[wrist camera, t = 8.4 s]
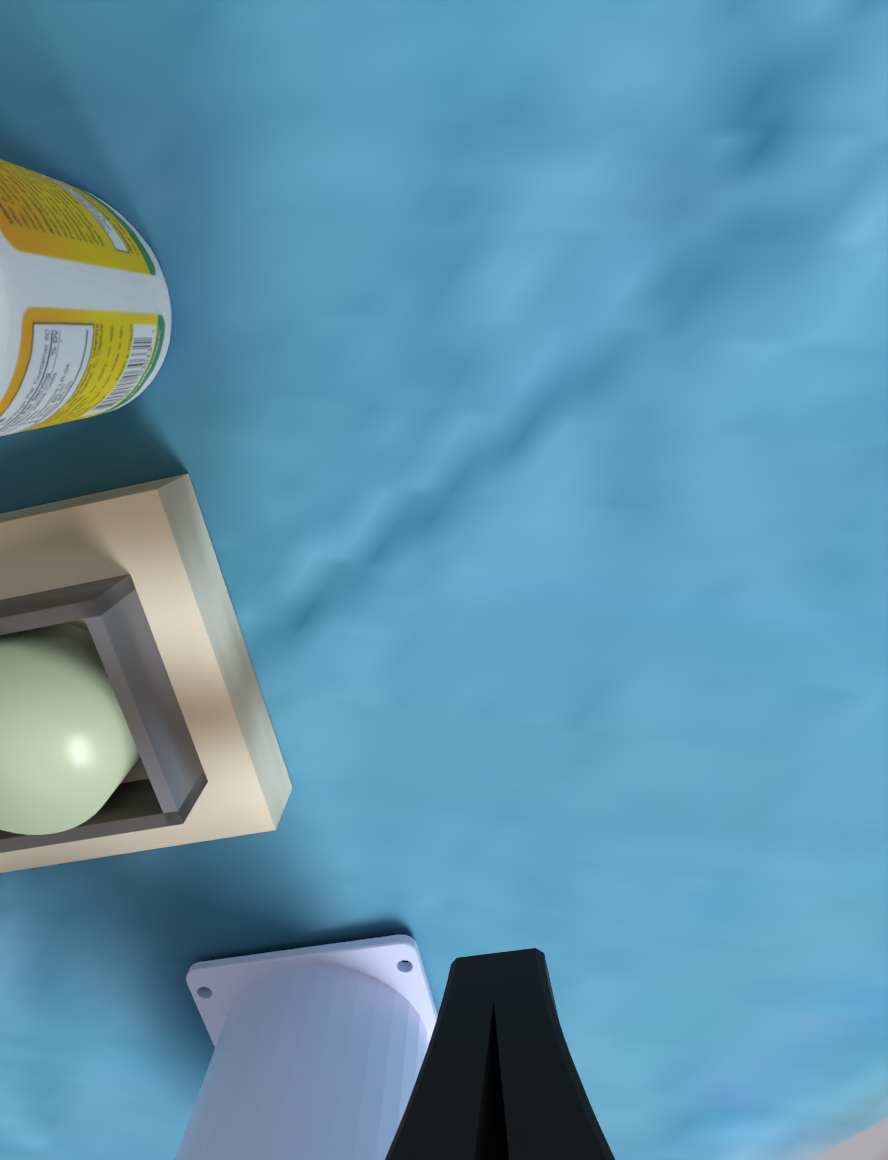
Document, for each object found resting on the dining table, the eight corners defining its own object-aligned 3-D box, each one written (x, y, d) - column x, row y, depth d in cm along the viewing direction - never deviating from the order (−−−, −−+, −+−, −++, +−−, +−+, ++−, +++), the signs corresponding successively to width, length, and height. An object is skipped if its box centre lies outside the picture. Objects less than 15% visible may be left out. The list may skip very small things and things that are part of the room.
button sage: (177, 771, 20) (146, 818, 18) (9, 799, 20) (-39, 848, 18) (112, 603, 18) (70, 635, 16) (-68, 638, 19) (-130, 674, 17)
